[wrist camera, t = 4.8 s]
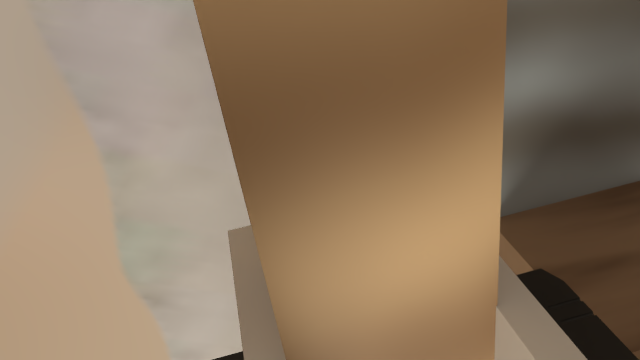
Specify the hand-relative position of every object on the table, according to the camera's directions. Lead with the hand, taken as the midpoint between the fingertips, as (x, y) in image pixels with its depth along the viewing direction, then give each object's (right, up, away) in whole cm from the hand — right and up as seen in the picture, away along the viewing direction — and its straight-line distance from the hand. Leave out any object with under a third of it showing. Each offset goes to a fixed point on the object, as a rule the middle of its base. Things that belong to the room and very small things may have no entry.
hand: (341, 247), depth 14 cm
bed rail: (0, 0, 0) cm, 0 cm away
